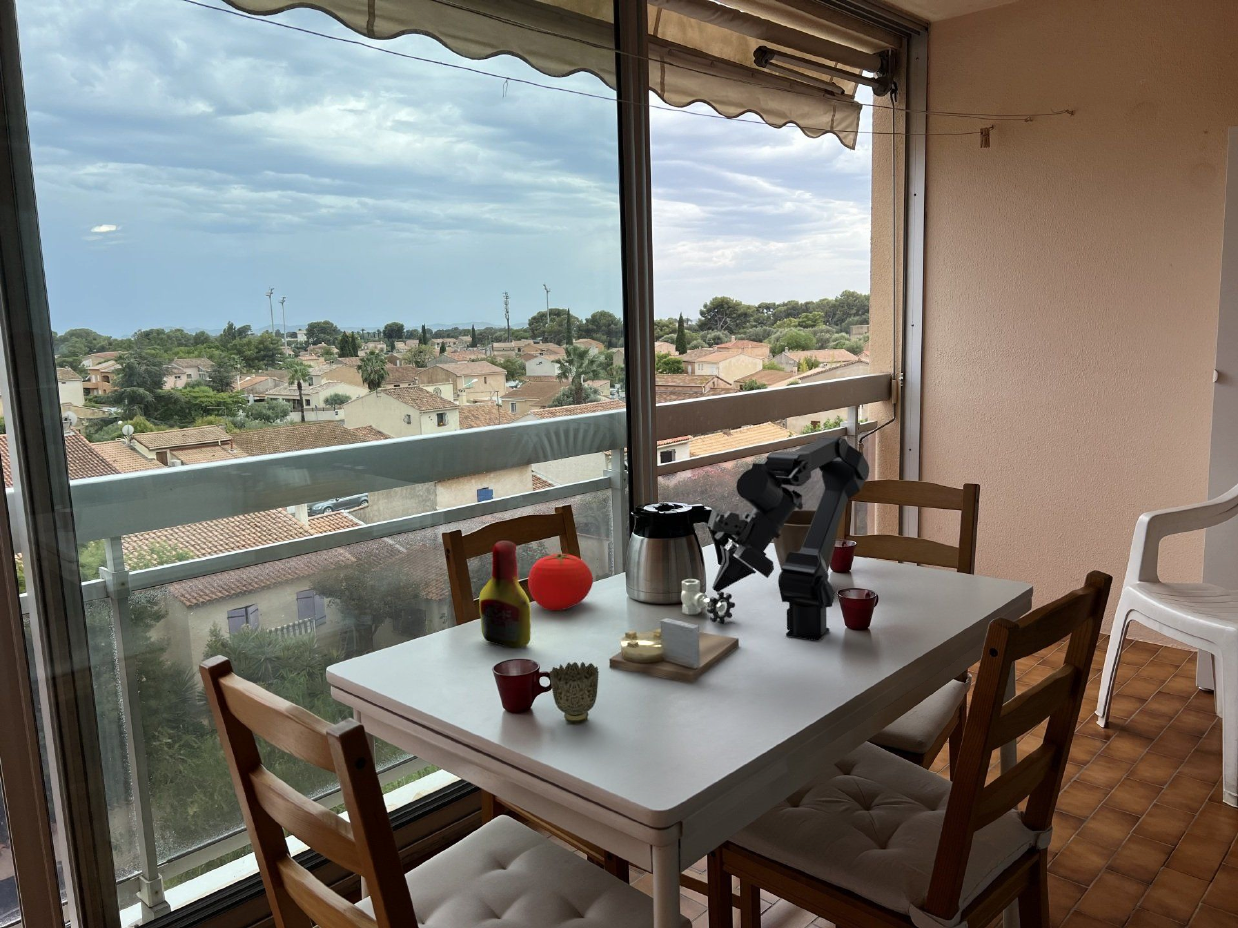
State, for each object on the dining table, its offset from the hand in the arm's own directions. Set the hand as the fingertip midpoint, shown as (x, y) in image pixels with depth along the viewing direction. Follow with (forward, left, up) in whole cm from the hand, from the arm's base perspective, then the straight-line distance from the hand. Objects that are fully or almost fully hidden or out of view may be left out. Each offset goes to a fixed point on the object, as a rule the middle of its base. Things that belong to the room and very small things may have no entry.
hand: (714, 590), depth 159 cm
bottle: (+39, +10, -13) cm, 42 cm away
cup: (+8, +32, -13) cm, 35 cm away
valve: (+13, -20, -13) cm, 27 cm away
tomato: (+43, -13, -13) cm, 47 cm away
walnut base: (+7, +2, -13) cm, 15 cm away
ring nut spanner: (+7, +8, -11) cm, 15 cm away
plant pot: (+1, -47, -13) cm, 49 cm away
